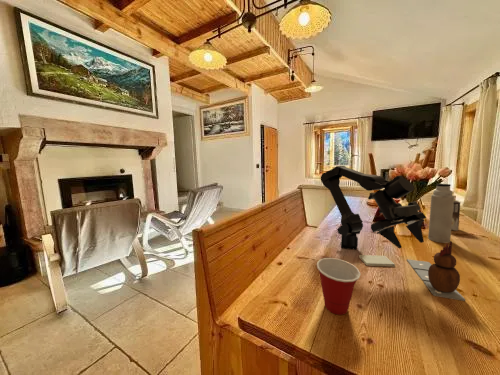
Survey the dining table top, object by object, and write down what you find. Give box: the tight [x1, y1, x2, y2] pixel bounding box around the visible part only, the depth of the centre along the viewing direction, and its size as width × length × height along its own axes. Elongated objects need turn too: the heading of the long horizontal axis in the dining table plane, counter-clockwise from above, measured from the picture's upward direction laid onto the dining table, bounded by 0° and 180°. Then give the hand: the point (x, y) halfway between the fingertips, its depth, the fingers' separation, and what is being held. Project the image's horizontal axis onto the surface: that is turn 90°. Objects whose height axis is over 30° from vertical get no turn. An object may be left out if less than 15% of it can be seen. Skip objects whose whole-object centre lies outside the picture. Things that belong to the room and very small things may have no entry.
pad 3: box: [423, 281, 466, 302], centre depth 61 cm, size 7×7×1 cm
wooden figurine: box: [428, 240, 461, 293], centre depth 60 cm, size 7×6×15 cm
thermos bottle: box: [427, 183, 455, 244], centre depth 98 cm, size 8×8×28 cm
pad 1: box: [406, 259, 432, 271], centre depth 75 cm, size 7×7×1 cm
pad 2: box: [413, 269, 430, 282], centre depth 68 cm, size 7×7×1 cm
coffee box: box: [451, 200, 461, 232], centre depth 115 cm, size 9×6×16 cm
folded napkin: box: [358, 254, 396, 268], centre depth 80 cm, size 10×7×1 cm
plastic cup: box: [316, 257, 362, 316], centre depth 54 cm, size 11×11×12 cm
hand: (411, 245), depth 69 cm, fingers open, 9 cm apart
